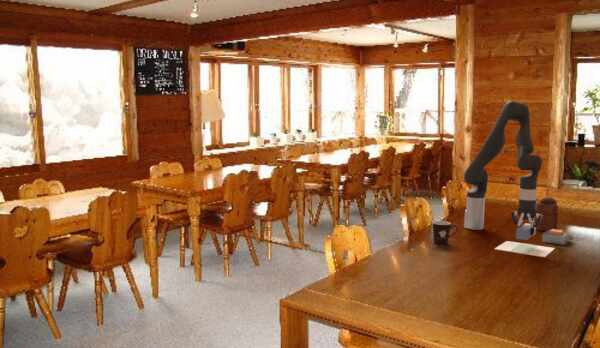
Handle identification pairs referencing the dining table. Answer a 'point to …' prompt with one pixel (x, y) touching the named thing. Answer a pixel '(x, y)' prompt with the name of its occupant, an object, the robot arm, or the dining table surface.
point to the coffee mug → (442, 232)
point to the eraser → (524, 232)
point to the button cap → (556, 232)
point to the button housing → (555, 238)
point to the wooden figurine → (547, 214)
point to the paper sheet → (525, 248)
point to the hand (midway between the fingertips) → (525, 234)
